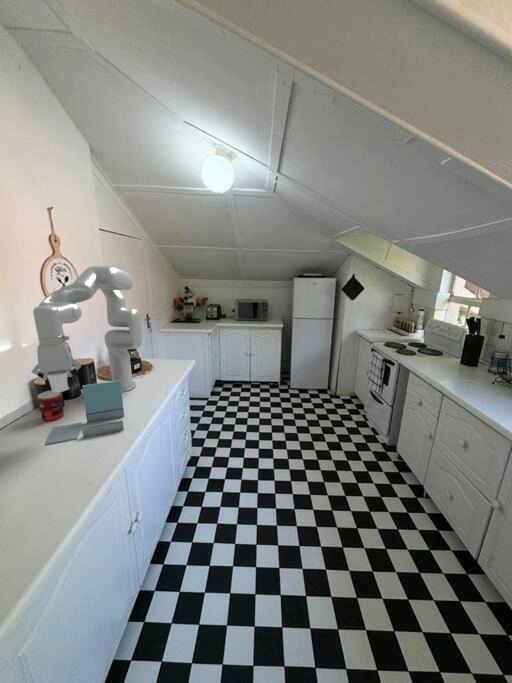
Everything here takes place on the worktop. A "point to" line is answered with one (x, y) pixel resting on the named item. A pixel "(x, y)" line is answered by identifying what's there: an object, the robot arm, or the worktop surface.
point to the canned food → (50, 405)
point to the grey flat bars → (103, 427)
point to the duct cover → (102, 397)
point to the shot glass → (58, 381)
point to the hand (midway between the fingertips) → (60, 386)
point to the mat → (64, 433)
